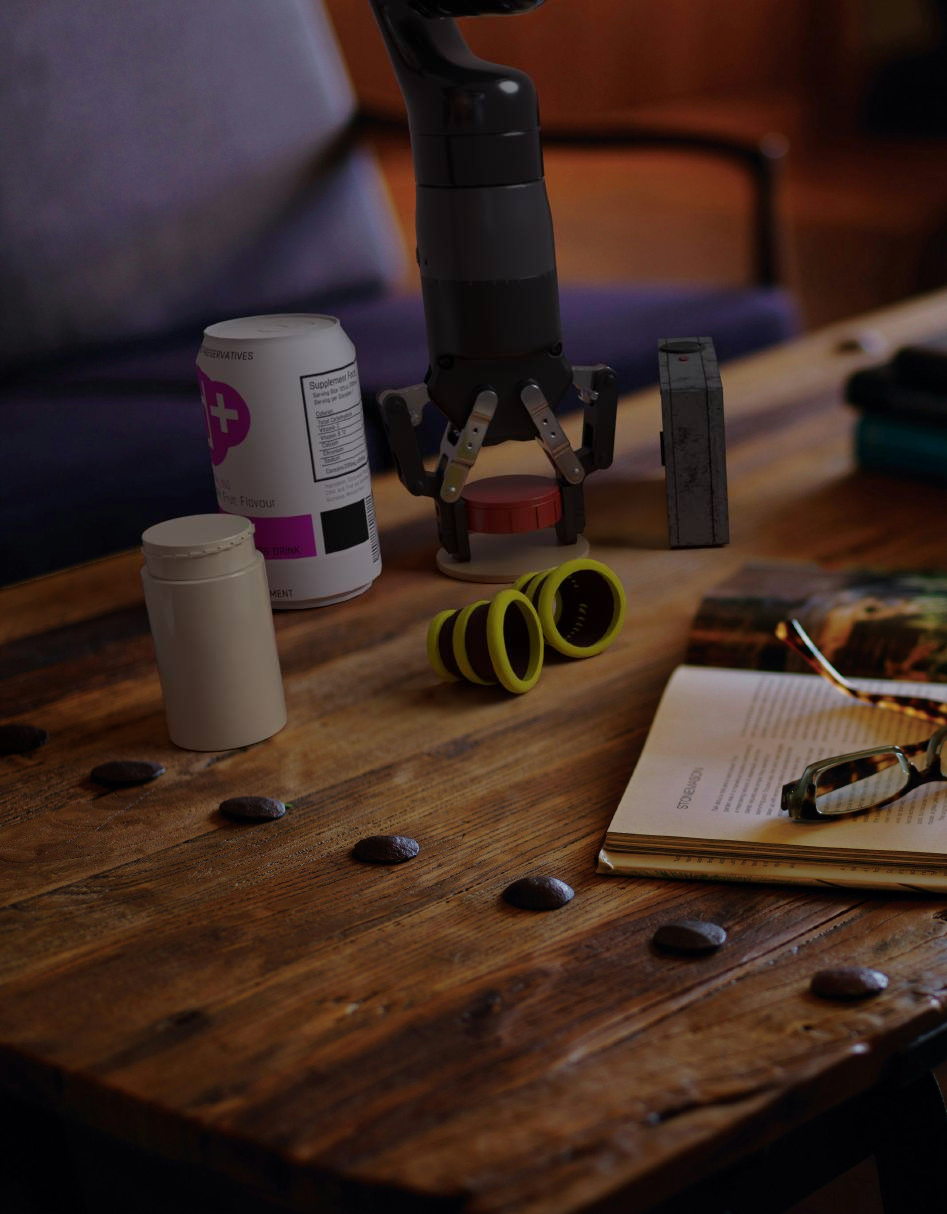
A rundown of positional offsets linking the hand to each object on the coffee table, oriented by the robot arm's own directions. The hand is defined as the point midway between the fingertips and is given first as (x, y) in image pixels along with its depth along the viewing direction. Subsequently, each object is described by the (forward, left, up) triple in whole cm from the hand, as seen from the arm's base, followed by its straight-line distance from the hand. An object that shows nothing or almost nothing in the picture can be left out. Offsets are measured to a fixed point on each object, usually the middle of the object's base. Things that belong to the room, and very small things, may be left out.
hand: (515, 548), depth 97 cm
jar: (-12, -22, -1) cm, 25 cm away
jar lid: (0, 0, +3) cm, 3 cm away
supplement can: (-11, -4, -1) cm, 12 cm away
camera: (+11, +8, -1) cm, 14 cm away
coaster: (0, 0, -1) cm, 1 cm away
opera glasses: (+2, -17, -1) cm, 17 cm away
